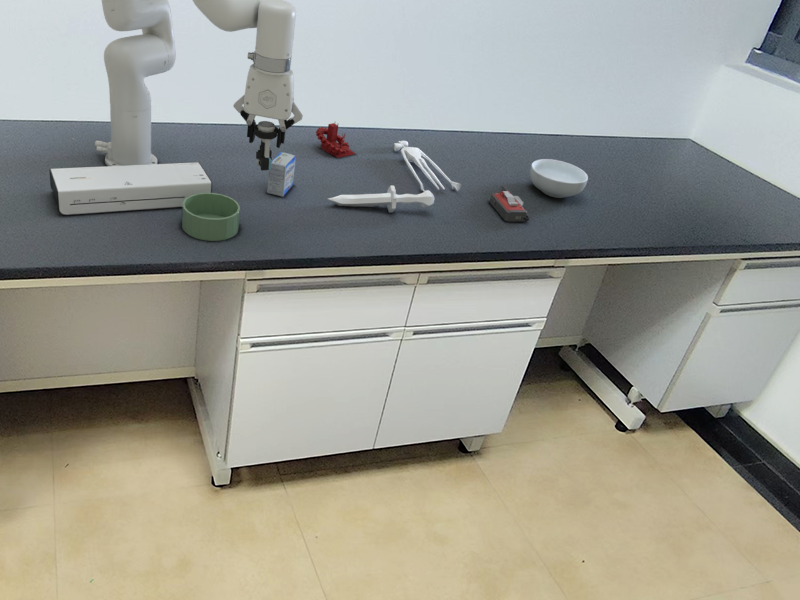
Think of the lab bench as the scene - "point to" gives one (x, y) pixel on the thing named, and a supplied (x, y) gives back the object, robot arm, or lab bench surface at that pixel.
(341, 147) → the diorama
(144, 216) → the lab bench surface
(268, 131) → the push button
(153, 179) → the laminator
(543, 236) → the lab bench surface
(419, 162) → the alien
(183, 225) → the green round bowl
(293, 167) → the medicine box
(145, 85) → the robot arm
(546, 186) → the cereal bowl
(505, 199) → the walkie-talkie
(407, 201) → the dagger
